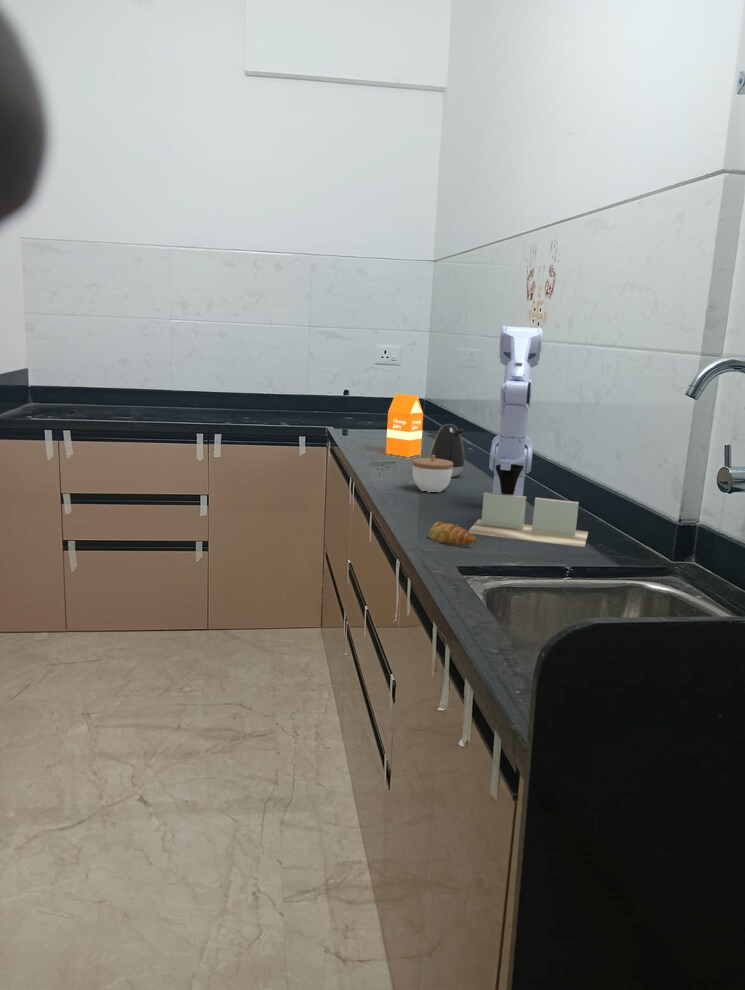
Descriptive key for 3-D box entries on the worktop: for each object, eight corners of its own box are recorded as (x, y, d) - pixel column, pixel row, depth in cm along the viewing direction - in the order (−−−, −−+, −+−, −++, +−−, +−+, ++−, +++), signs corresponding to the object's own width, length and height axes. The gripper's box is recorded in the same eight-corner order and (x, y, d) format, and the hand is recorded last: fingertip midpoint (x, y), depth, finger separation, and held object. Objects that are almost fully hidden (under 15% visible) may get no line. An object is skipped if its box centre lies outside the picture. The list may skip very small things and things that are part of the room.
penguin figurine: (447, 480, 234) (450, 427, 231) (421, 474, 241) (424, 422, 238) (471, 477, 240) (475, 425, 237) (445, 471, 248) (449, 420, 245)
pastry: (481, 544, 168) (483, 526, 167) (465, 551, 162) (466, 532, 162) (441, 536, 173) (442, 518, 172) (424, 542, 168) (425, 524, 167)
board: (478, 521, 187) (478, 518, 187) (588, 534, 180) (588, 531, 180) (466, 535, 174) (466, 532, 174) (584, 550, 167) (584, 547, 167)
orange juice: (398, 452, 280) (402, 393, 276) (420, 456, 275) (424, 395, 271) (385, 455, 273) (388, 394, 269) (407, 458, 268) (411, 396, 264)
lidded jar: (448, 496, 213) (451, 460, 211) (407, 492, 215) (409, 456, 213) (453, 488, 223) (456, 454, 221) (414, 484, 225) (416, 450, 223)
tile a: (482, 523, 183) (484, 492, 181) (523, 528, 180) (526, 496, 179) (481, 524, 181) (483, 493, 180) (522, 529, 179) (525, 497, 177)
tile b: (532, 529, 180) (535, 497, 178) (575, 534, 177) (578, 502, 176) (532, 530, 178) (535, 498, 177) (574, 535, 176) (578, 503, 174)
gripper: (499, 431, 188) (494, 490, 191) (488, 438, 175) (483, 501, 177) (530, 434, 186) (525, 493, 189) (522, 441, 173) (516, 505, 175)
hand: (507, 497), depth 183 cm, fingers closed
